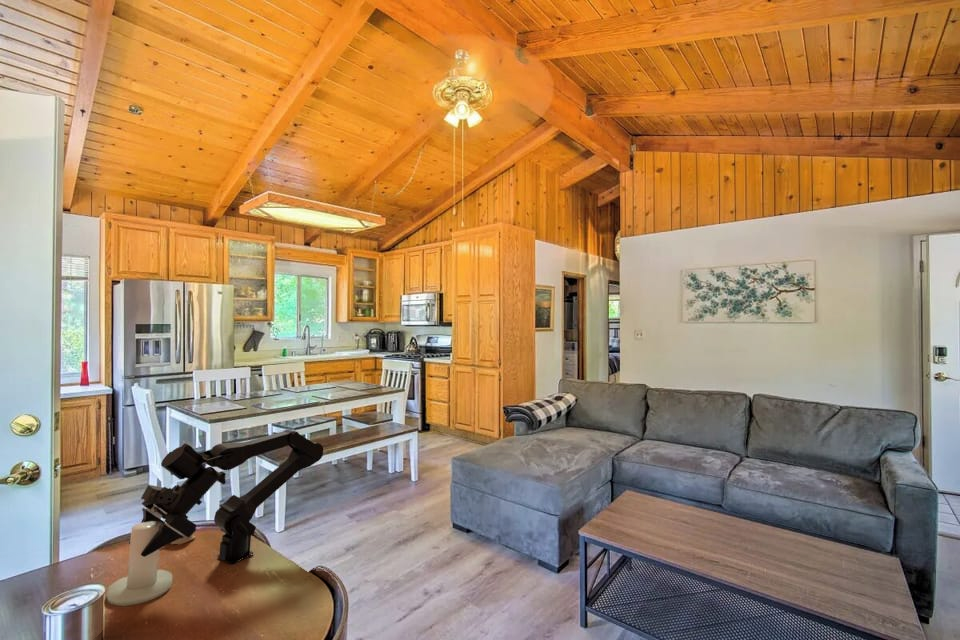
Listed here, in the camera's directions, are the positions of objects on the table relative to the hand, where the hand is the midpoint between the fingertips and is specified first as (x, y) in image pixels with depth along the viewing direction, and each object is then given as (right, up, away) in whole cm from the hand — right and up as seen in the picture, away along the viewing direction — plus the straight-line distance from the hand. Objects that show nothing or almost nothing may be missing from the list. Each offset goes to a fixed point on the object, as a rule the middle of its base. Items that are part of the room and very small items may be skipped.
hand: (136, 550), depth 103 cm
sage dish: (0, -10, +1) cm, 10 cm away
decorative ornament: (-7, -10, +25) cm, 28 cm away
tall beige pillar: (+1, -8, +1) cm, 8 cm away
